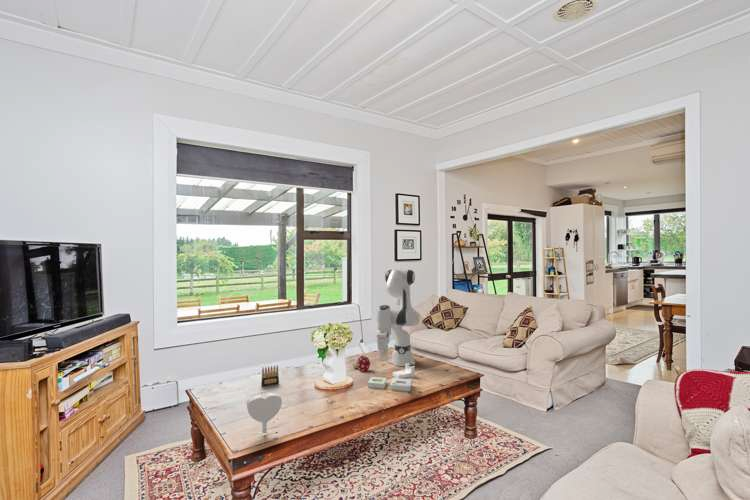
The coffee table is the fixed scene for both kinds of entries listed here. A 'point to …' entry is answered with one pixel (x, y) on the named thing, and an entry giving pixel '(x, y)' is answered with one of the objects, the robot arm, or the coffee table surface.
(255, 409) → the heart sculpture
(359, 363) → the dark red lumpy cluster
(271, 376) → the ammunition clip
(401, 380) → the port
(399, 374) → the bracket
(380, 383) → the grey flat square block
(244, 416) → the coffee table surface
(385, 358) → the plug
